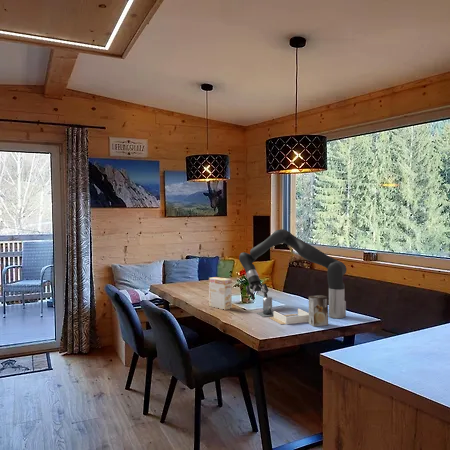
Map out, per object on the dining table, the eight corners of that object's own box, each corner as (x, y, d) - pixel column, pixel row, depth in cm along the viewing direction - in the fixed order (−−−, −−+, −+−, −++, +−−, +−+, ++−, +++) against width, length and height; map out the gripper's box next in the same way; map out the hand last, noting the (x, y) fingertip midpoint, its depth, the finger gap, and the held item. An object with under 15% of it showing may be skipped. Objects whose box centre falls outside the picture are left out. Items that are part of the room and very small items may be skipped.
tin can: (269, 312, 271) (269, 296, 271) (273, 314, 266) (273, 298, 266) (261, 313, 269) (261, 297, 269) (265, 315, 264) (265, 298, 264)
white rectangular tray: (301, 313, 269) (301, 307, 269) (317, 321, 252) (317, 314, 252) (267, 317, 262) (267, 310, 261) (281, 324, 244) (281, 317, 244)
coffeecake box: (232, 308, 285) (231, 279, 284) (224, 310, 280) (224, 280, 279) (216, 304, 296) (216, 276, 295) (208, 306, 291) (208, 277, 290)
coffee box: (322, 322, 248) (322, 294, 248) (328, 325, 242) (328, 297, 242) (308, 323, 246) (308, 295, 245) (313, 326, 240) (313, 298, 239)
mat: (271, 312, 274) (271, 311, 274) (278, 315, 265) (278, 315, 265) (256, 313, 271) (256, 312, 271) (263, 317, 261) (263, 316, 261)
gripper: (244, 275, 283) (251, 296, 273) (264, 273, 288) (272, 294, 278) (241, 282, 289) (248, 302, 279) (261, 280, 294) (268, 300, 283)
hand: (260, 298), depth 278 cm, fingers open, 8 cm apart
